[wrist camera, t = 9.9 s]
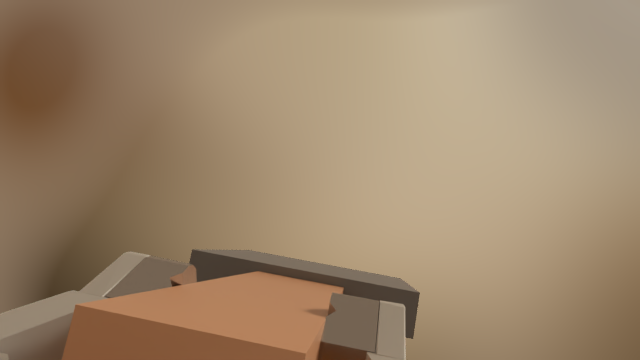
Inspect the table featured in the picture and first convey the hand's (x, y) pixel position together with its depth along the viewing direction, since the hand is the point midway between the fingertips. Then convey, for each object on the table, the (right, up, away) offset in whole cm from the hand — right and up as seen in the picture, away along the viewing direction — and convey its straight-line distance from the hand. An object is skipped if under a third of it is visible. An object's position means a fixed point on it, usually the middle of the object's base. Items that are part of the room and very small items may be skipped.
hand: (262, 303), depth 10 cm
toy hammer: (0, -2, +4) cm, 5 cm away
